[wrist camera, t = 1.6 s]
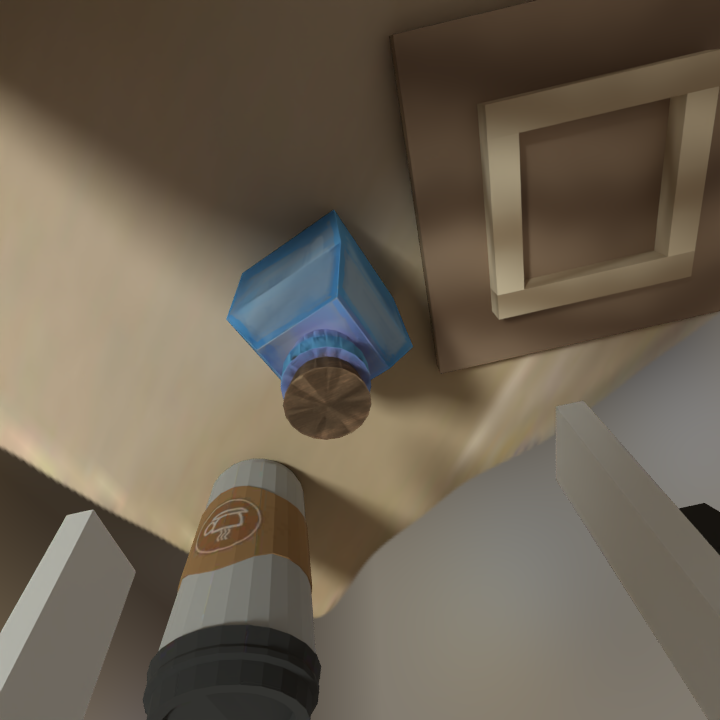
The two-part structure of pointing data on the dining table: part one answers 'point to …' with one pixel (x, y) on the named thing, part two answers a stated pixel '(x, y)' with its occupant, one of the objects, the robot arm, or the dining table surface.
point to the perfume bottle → (320, 327)
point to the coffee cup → (242, 608)
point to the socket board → (563, 171)
